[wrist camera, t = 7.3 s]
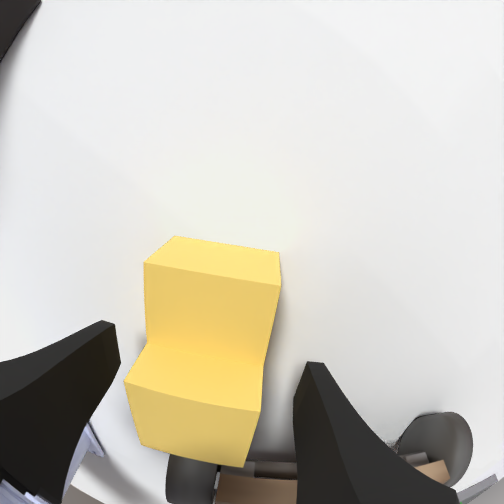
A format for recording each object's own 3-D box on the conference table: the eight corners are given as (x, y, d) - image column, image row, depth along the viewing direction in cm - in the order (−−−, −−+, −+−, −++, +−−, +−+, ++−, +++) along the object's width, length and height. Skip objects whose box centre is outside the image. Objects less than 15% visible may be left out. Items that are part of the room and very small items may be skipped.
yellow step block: (174, 368, 13) (141, 444, 8) (175, 234, 10) (109, 292, 6) (251, 383, 13) (242, 467, 8) (278, 251, 10) (283, 326, 6)
